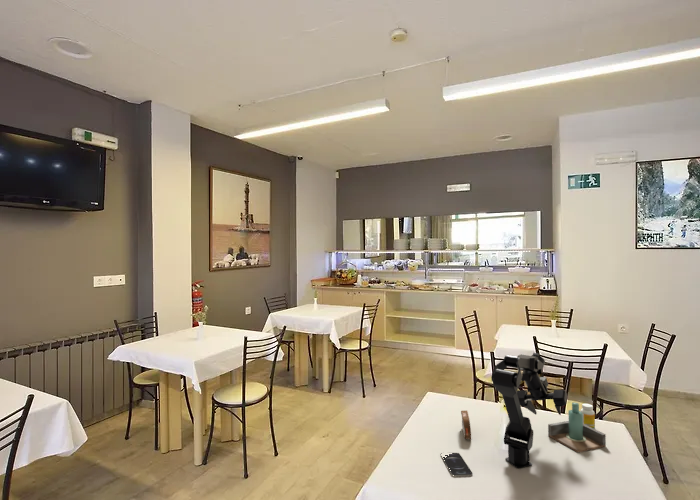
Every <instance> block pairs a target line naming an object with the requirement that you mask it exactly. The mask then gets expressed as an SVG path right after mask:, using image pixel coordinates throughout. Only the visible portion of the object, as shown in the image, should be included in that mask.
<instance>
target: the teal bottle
mask: <svg viewBox="0 0 700 500" xmlns="http://www.w3.org/2000/svg"><path fill="white" fill-rule="evenodd" d="M567 412H568V421H569V437H570V438H572V439H574V440H583V413H582V412H580V403H578V402H572V403H571V409H569V410H568V411H567Z"/></svg>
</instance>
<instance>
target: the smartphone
mask: <svg viewBox="0 0 700 500" xmlns="http://www.w3.org/2000/svg"><path fill="white" fill-rule="evenodd" d="M442 453H443V452H442ZM442 453H440V455H441V454H442ZM451 453H452V454H449V456H448V455H445V456H447V457H446V458H445V457H443V458H444V459H442V461H443V460H445V461H443V463H444V462H445V463H444V465H445V464H446V465H445V466H447V467H448V469H449V468H450V469H449V470H448V469H447V470H448V472H449V471H450V470H451V471H450V472H449V474H450V473H451V474H452V475H454V476H459V477H458V478H461V477H462V478H463V477H464V478H466V477H472V476H473V471H471V470H472V469H470V467H469V465H468V464H467V463H466V462H465V460H464V458H463V456H462V455H461V454H460V453H459V452H451ZM447 467H446V468H447ZM451 474H450V475H451Z"/></svg>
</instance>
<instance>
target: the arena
mask: <svg viewBox="0 0 700 500" xmlns="http://www.w3.org/2000/svg"><path fill="white" fill-rule="evenodd" d="M547 427H548V428H547V429H548V430H547V431H548V433H547V434H548V437H550V438H551V439H553V440H554V441H556V442H557V443H558V442H559V444H561V445H564V446H565V447H567V448H569V449H571V450H572V451H574V452H576V453H582V452H586V451H591V450H596V449H602V448H606V447H607V446H606V445H607V444H606V439H607V438H606V437H607V436H606V435H607V434H606V433H603V432H602V431H599V430H598V429H596V428H595V429H593V428H591V427H589V426H587V425H585V424H583V440H574V439H572V438H570V437H569V420H566V421H558V422H555V423H554V422H553V423H548V425H547Z"/></svg>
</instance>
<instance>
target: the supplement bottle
mask: <svg viewBox="0 0 700 500" xmlns="http://www.w3.org/2000/svg"><path fill="white" fill-rule="evenodd" d="M593 409H594V405H592V404H590V403H582V404H581V409H579V411H580V412H582V413H583V424H585V425H587V426H589V427H591V428H593V429H595V430H596V419H595V417H596V413H595V411H594V410H593Z"/></svg>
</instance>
